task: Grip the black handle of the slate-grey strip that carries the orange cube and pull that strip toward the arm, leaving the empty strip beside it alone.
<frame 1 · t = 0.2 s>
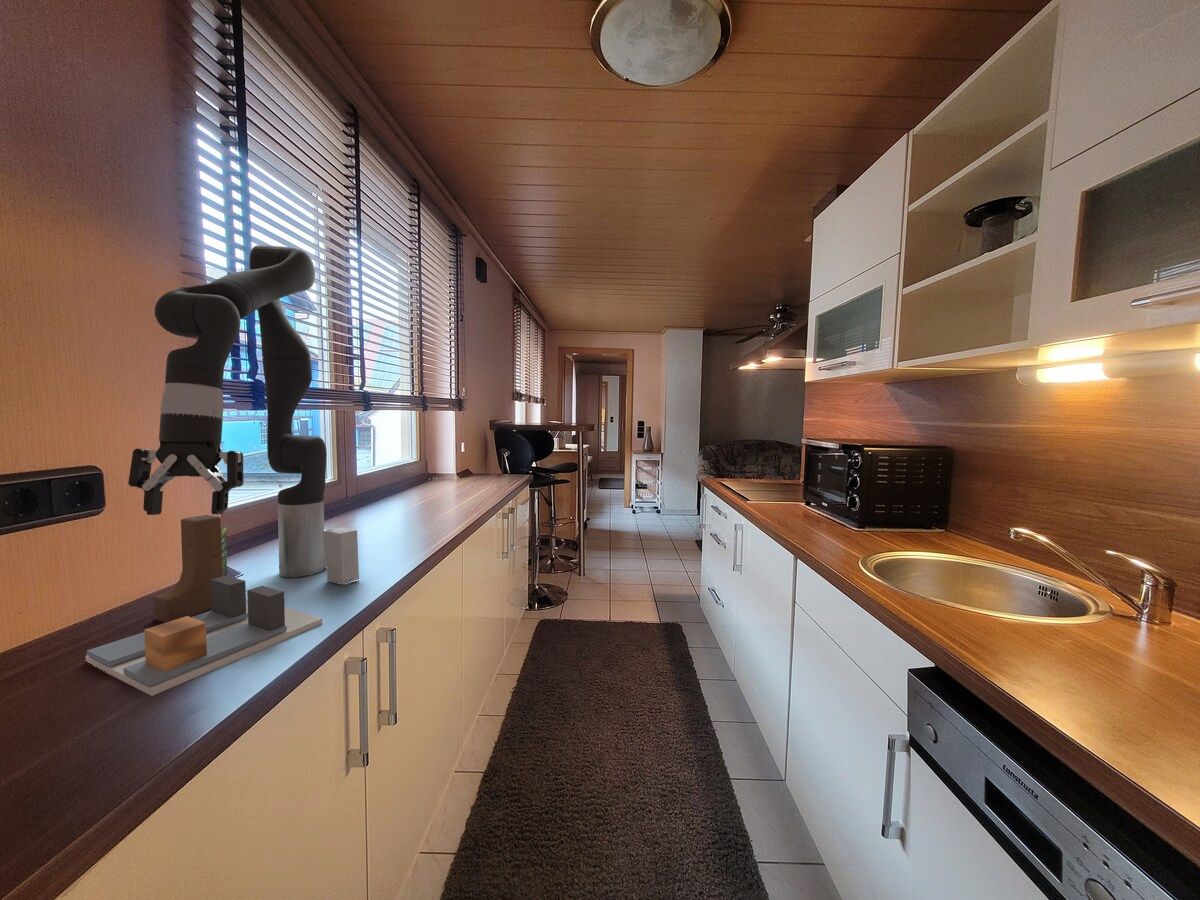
hand: (186, 514, 72), 22 cm above the worktop, tool pointing down, fingers open, 8 cm apart
cube: (176, 658, 66), point 2 cm above the worktop, touching strip with cube
wooden block: (190, 613, 85), on the worktop
strip empty: (174, 615, 74), point 5 cm above the worktop, slide at 0.0 cm
skincare box: (342, 582, 103), on the worktop
strip with cube: (212, 629, 70), point 5 cm above the worktop, slide at 0.0 cm, touching cube
lane board: (215, 641, 75), on the worktop
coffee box: (215, 592, 96), on the worktop
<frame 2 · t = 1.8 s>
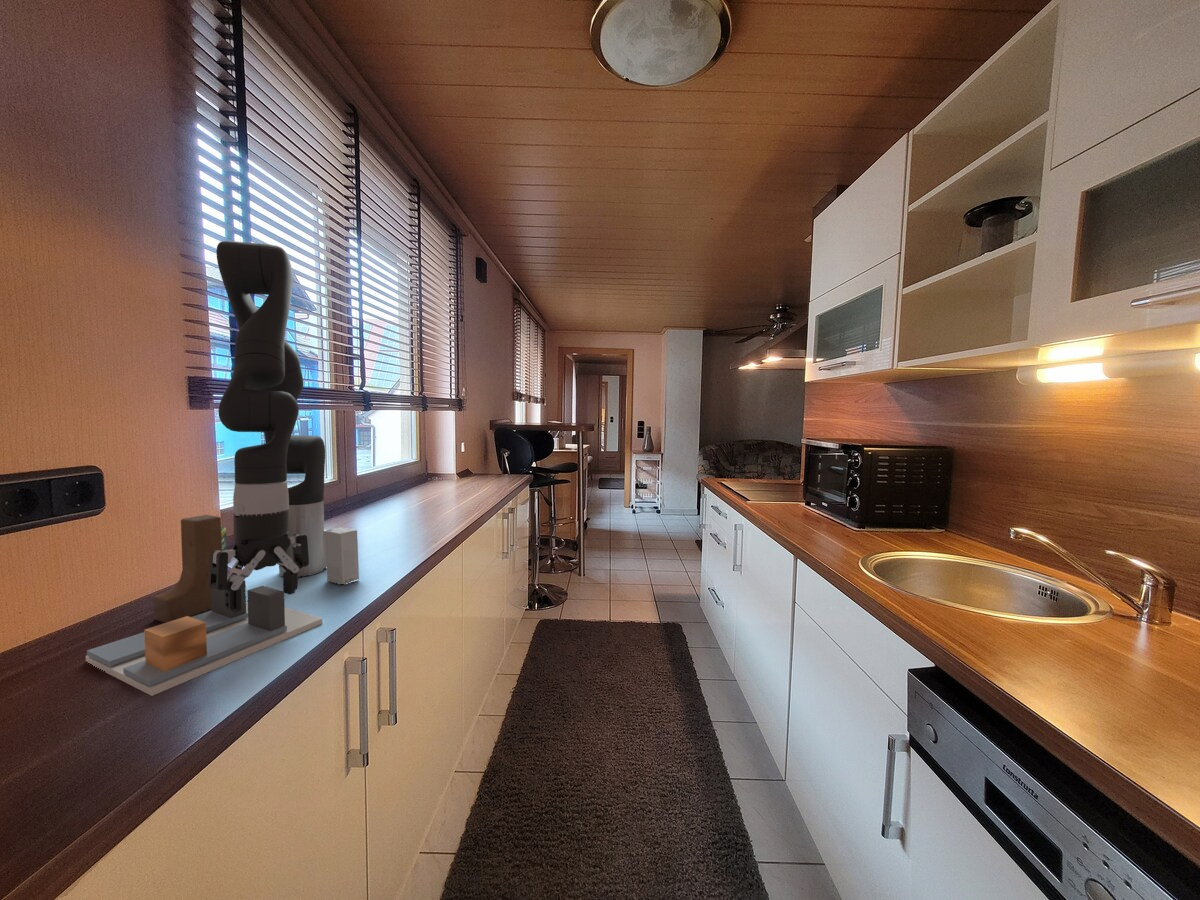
hand: (263, 601, 77), 6 cm above the worktop, tool pointing down, fingers open, 8 cm apart
nothing on the worktop moved.
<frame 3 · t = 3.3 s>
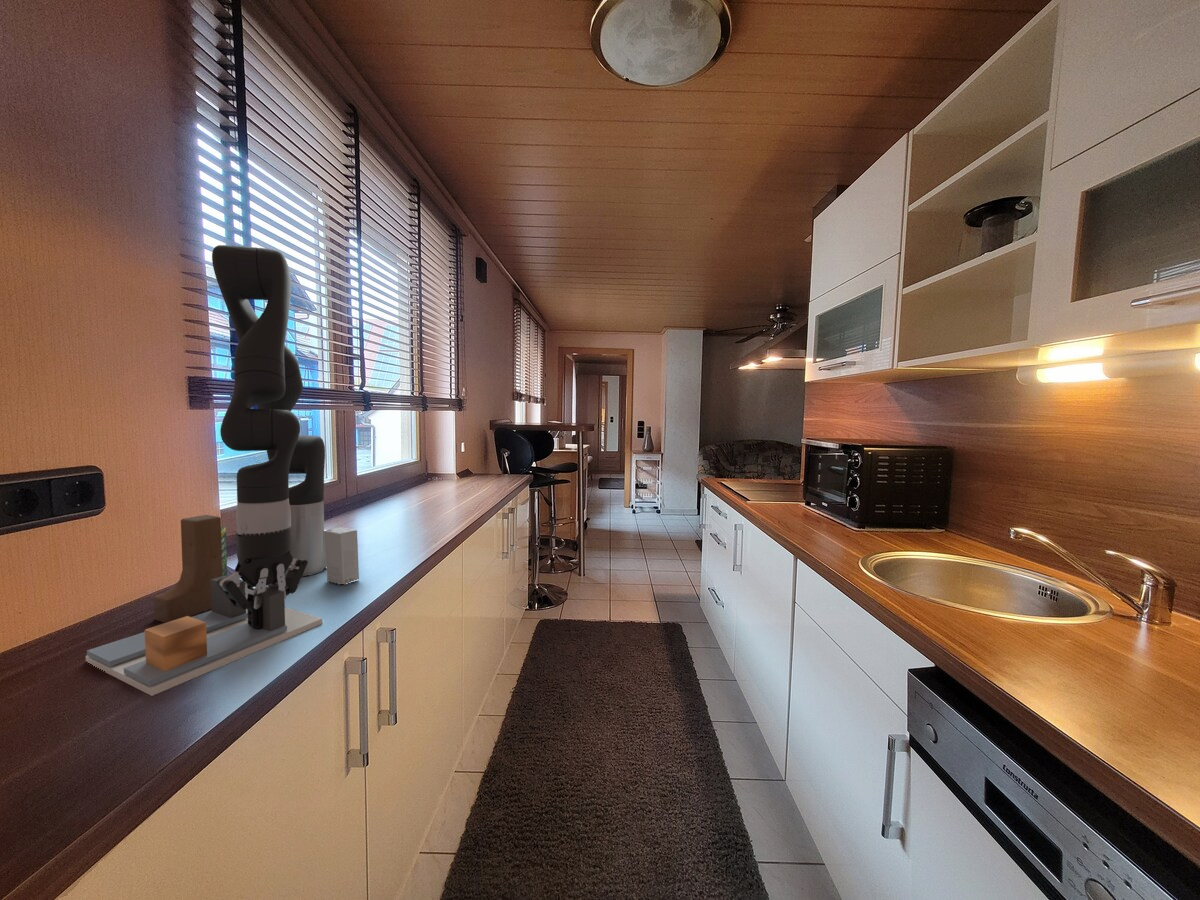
hand: (266, 624, 77), 2 cm above the worktop, tool pointing down, fingers closed on strip with cube, 2 cm apart
strip with cube: (212, 628, 70), point 5 cm above the worktop, slide at 0.0 cm, touching cube, gripper
everything else where it was.
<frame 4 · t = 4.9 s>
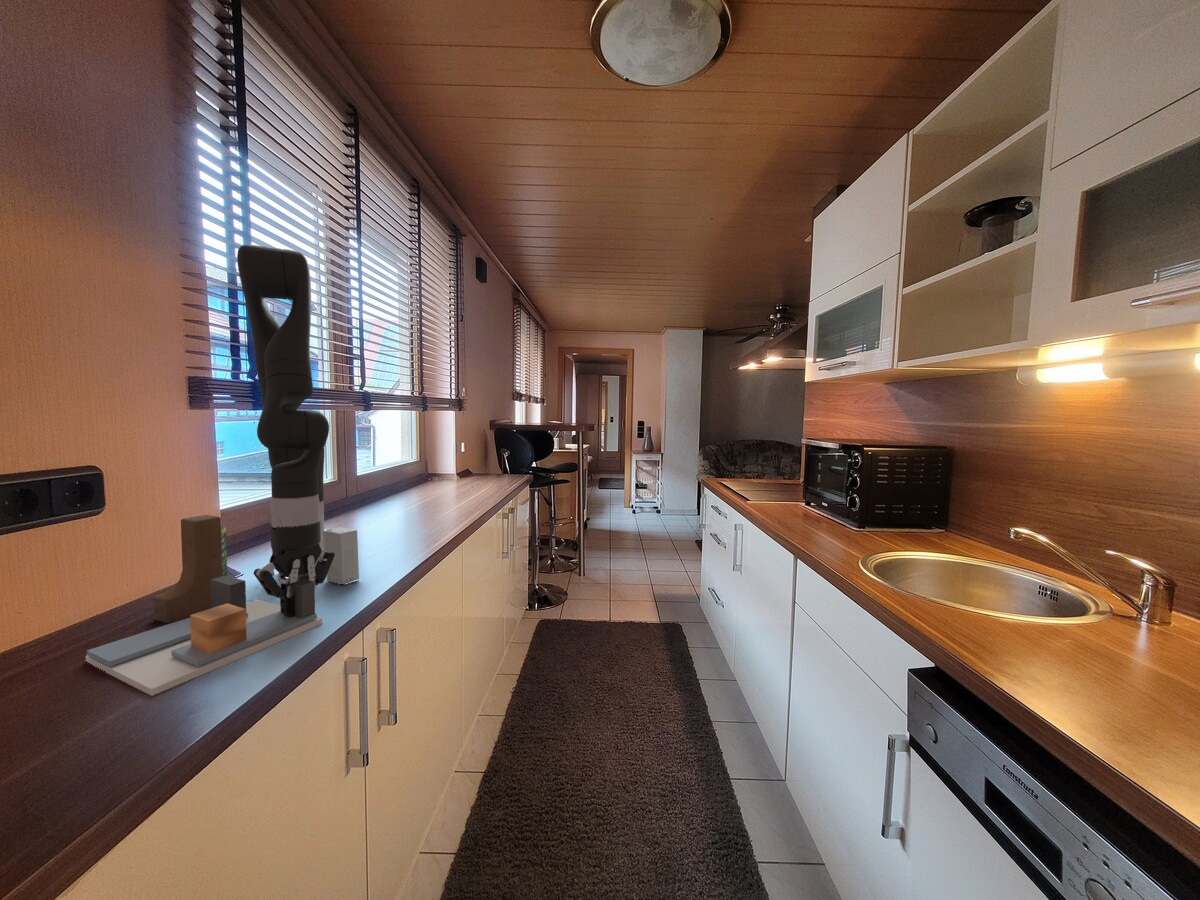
hand: (297, 612, 82), 2 cm above the worktop, tool pointing down, fingers closed on strip with cube, 2 cm apart
cube: (219, 642, 71), point 2 cm above the worktop, touching strip with cube
strip with cube: (250, 615, 75), point 5 cm above the worktop, slide at 5.4 cm, touching cube, gripper
everything else where it was.
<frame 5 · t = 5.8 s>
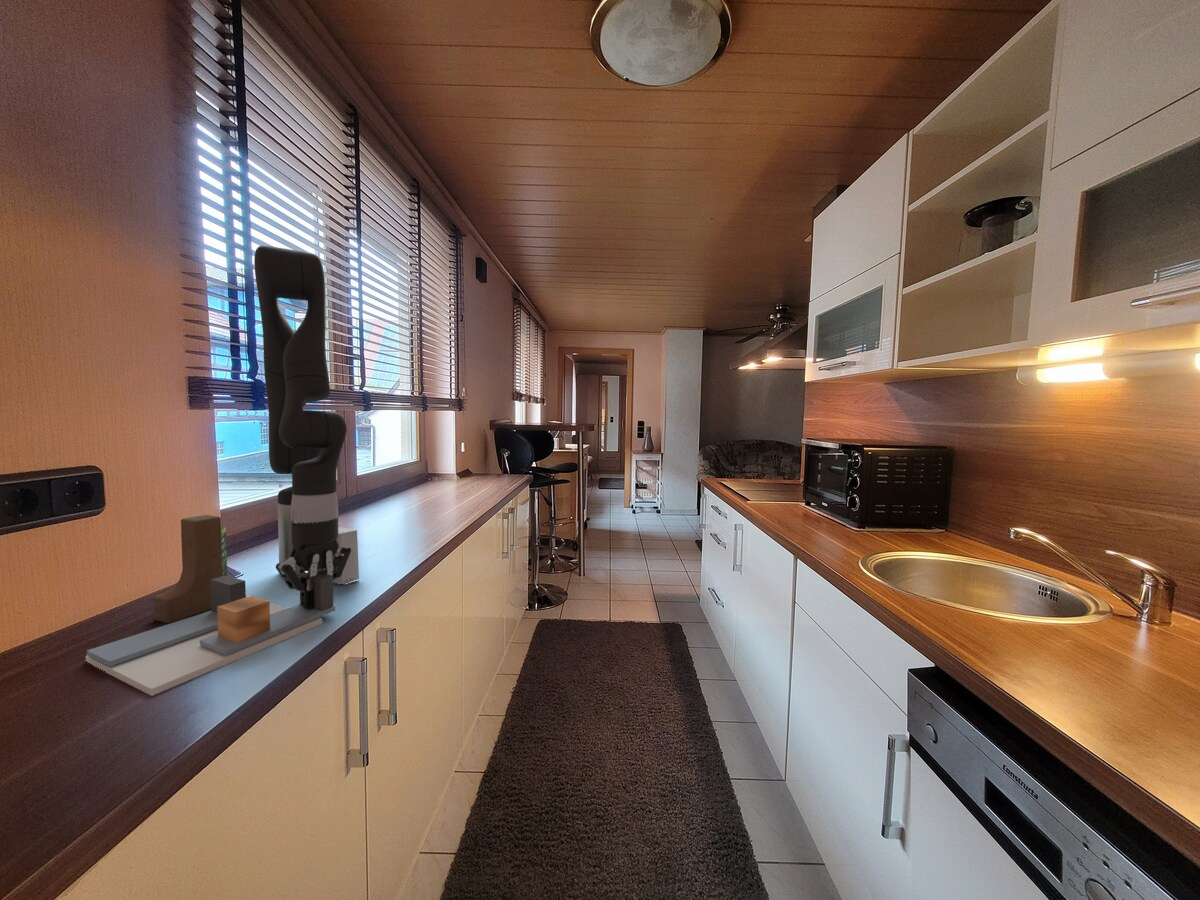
hand: (316, 605, 85), 2 cm above the worktop, tool pointing down, fingers closed on strip with cube, 2 cm apart
cube: (244, 633, 74), point 2 cm above the worktop, touching strip with cube
strip with cube: (273, 607, 78), point 5 cm above the worktop, slide at 8.9 cm, touching cube, gripper
everything else where it was.
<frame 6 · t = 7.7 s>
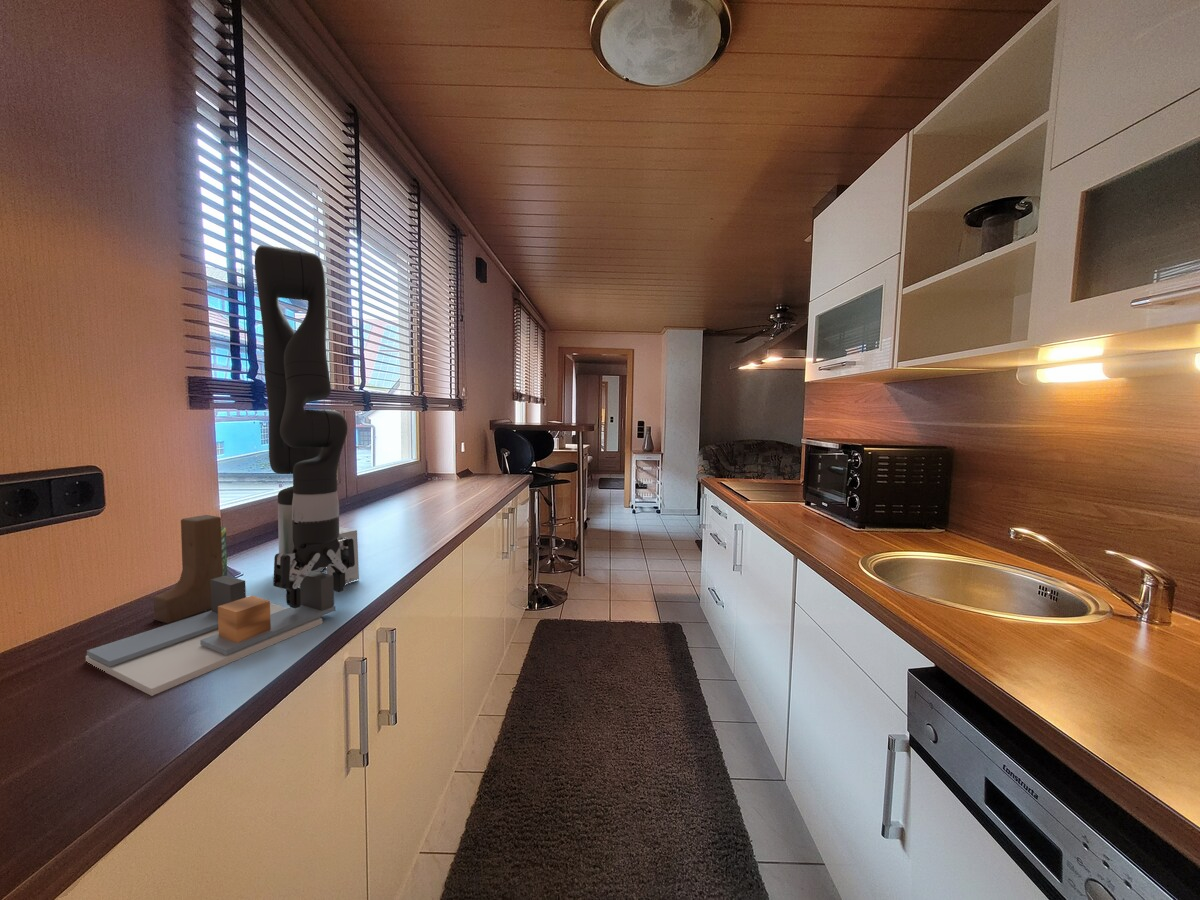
hand: (317, 598, 86), 3 cm above the worktop, tool pointing down, fingers open, 8 cm apart
strip with cube: (273, 607, 78), point 5 cm above the worktop, slide at 9.0 cm, touching cube
everything else where it was.
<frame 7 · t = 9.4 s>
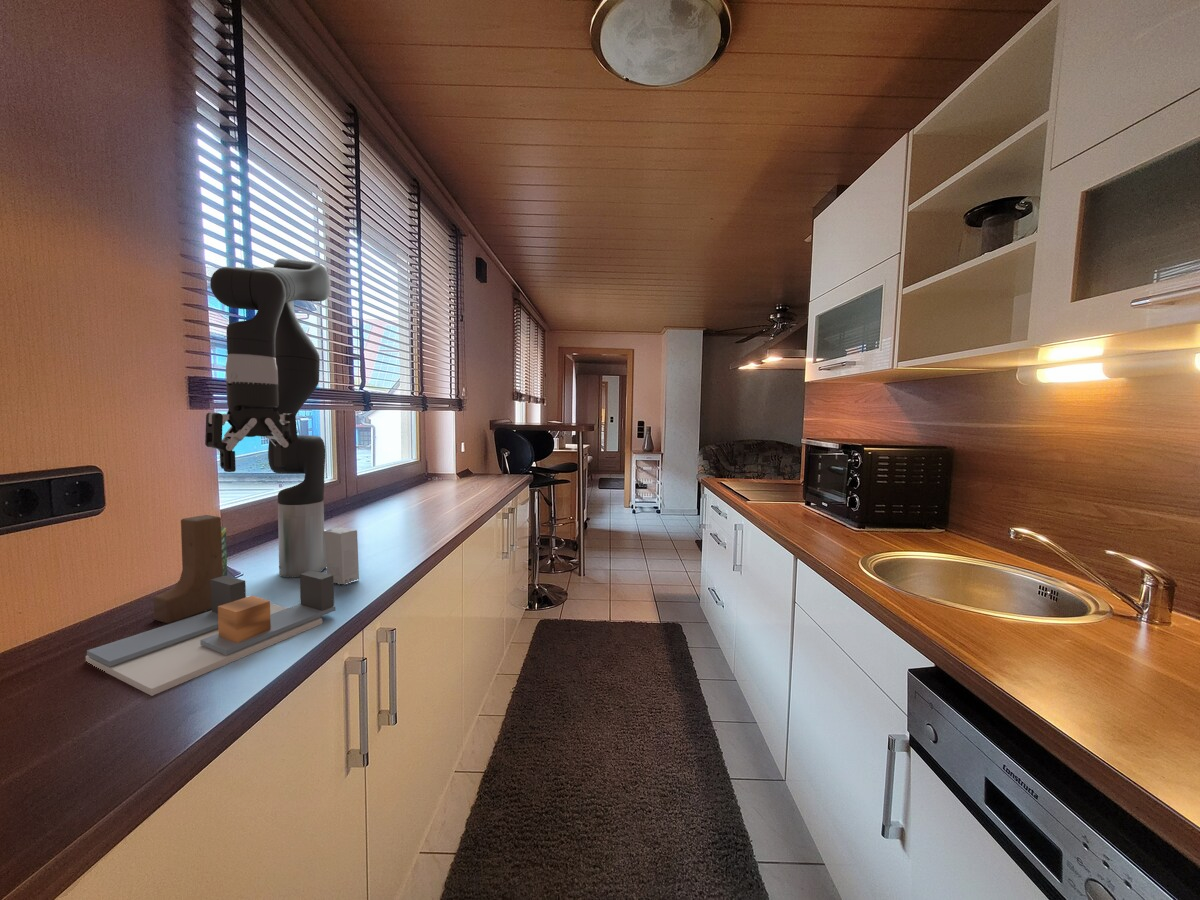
hand: (255, 469, 83), 28 cm above the worktop, tool pointing down, fingers open, 8 cm apart
nothing on the worktop moved.
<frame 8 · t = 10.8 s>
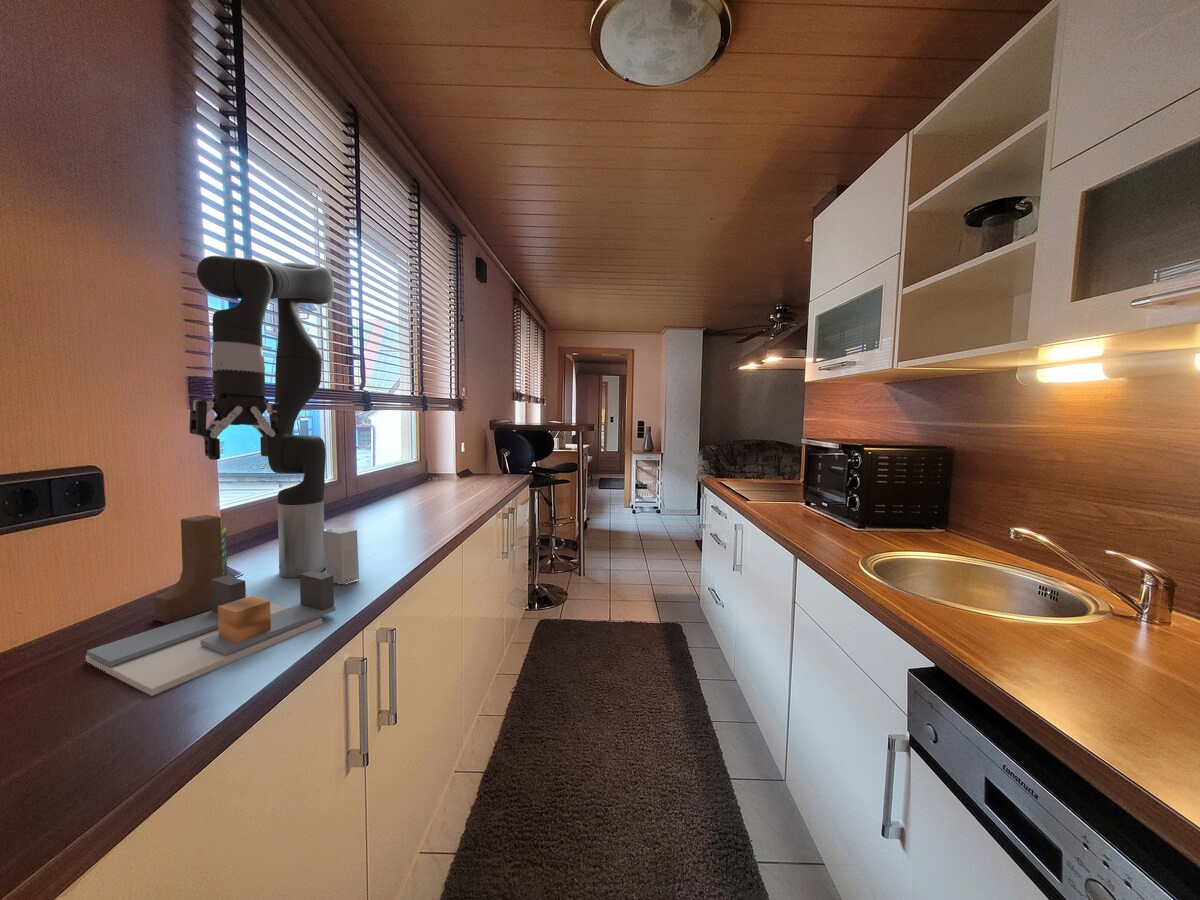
hand: (241, 457, 83), 30 cm above the worktop, tool pointing down, fingers open, 8 cm apart
nothing on the worktop moved.
at the end: strip with cube slide at 9.0 cm; cube inside the target area (1.2 cm from its centre), point 2.0 cm above the worktop; cube tilted 0° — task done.
